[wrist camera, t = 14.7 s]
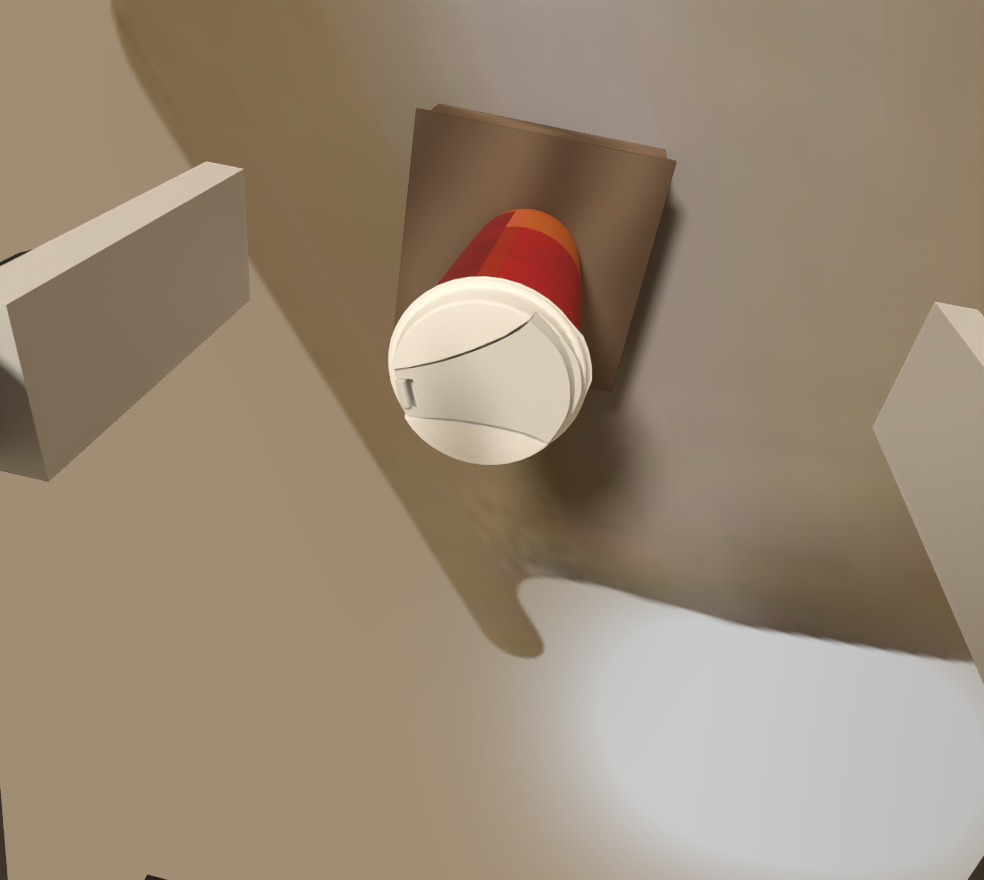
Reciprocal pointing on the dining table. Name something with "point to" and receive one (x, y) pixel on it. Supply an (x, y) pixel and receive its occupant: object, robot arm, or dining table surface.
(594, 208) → the podium
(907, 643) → the dining table surface
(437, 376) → the paper cup
